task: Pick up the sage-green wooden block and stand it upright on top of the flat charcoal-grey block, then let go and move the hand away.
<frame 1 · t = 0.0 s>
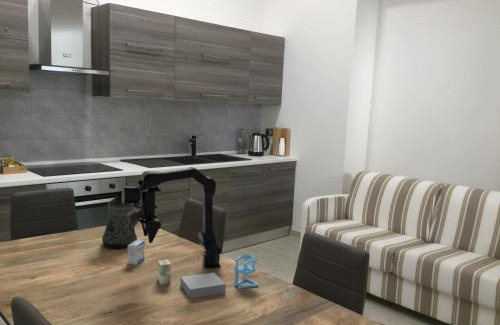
hand: (148, 239, 181), 15 cm above the table, tool pointing down, fingers open, 9 cm apart
sage block: (164, 281, 176), on the table
medicine box: (136, 261, 196), on the table
beer stein: (121, 243, 218), on the table
grey block: (202, 290, 171), on the table
light blue lattice frame: (244, 285, 176), on the table
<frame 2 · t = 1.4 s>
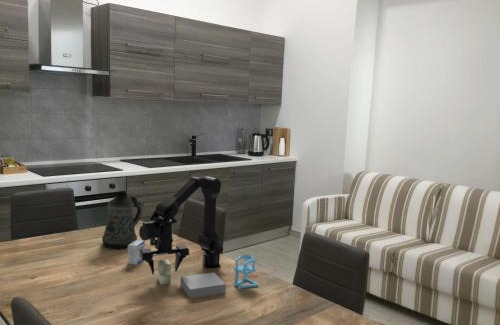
hand: (164, 272, 175), 3 cm above the table, tool pointing down, fingers open, 9 cm apart
nothing on the table moved.
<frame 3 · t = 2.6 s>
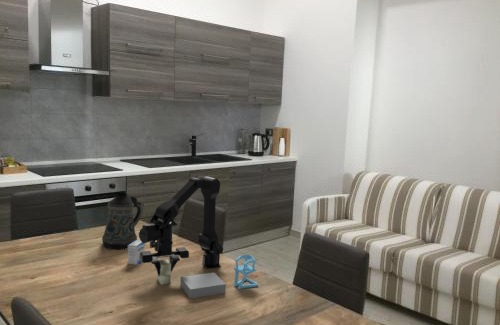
hand: (164, 275, 176), 3 cm above the table, tool pointing down, fingers closed on sage block, 4 cm apart
sage block: (164, 281, 176), on the table, touching gripper
everything else where it was.
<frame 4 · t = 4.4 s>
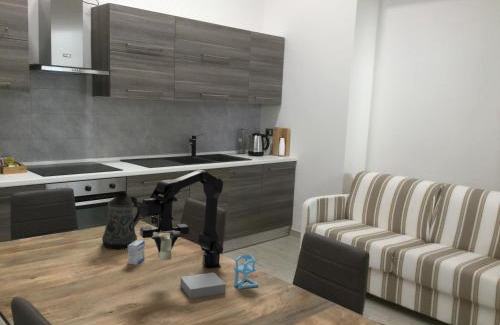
hand: (164, 251, 174), 12 cm above the table, tool pointing down, fingers closed on sage block, 4 cm apart
sage block: (164, 257, 174), point 10 cm above the table, touching gripper
everything else where it was.
when the fingers open (8 cm above the table, at t = 6.5 s): sage block drops 2 cm, point 4 cm above the table.
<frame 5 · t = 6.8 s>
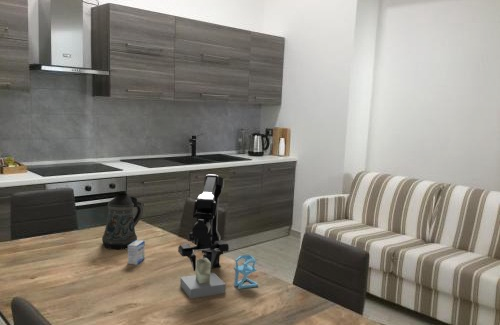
hand: (203, 269, 169), 8 cm above the table, tool pointing down, fingers open, 7 cm apart
sage block: (202, 280, 170), point 4 cm above the table
everything else where it was.
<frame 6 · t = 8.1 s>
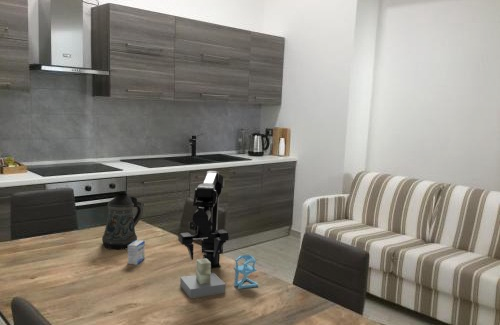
hand: (203, 258, 169), 12 cm above the table, tool pointing down, fingers open, 9 cm apart
nothing on the table moved.
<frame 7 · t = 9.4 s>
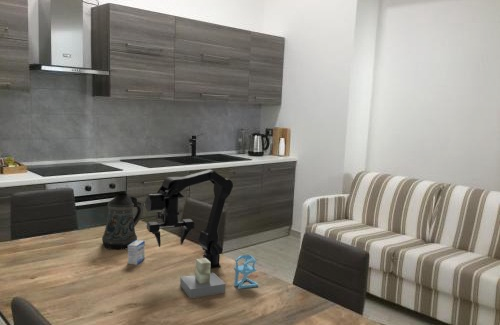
hand: (170, 245, 181), 12 cm above the table, tool pointing down, fingers open, 9 cm apart
nothing on the table moved.
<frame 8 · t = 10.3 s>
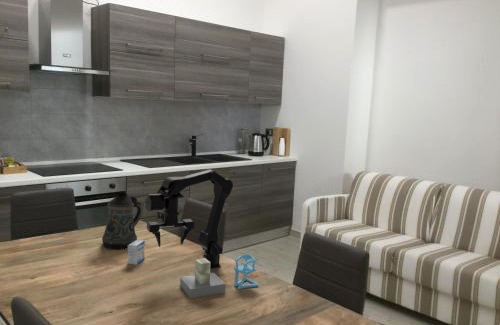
hand: (170, 245, 181), 12 cm above the table, tool pointing down, fingers open, 9 cm apart
nothing on the table moved.
at the end: sage block inside the target area on the grey block (0.3 cm from its centre), point 4.0 cm above the grey block's base; sage block tilted 0°; the gripper is holding nothing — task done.
